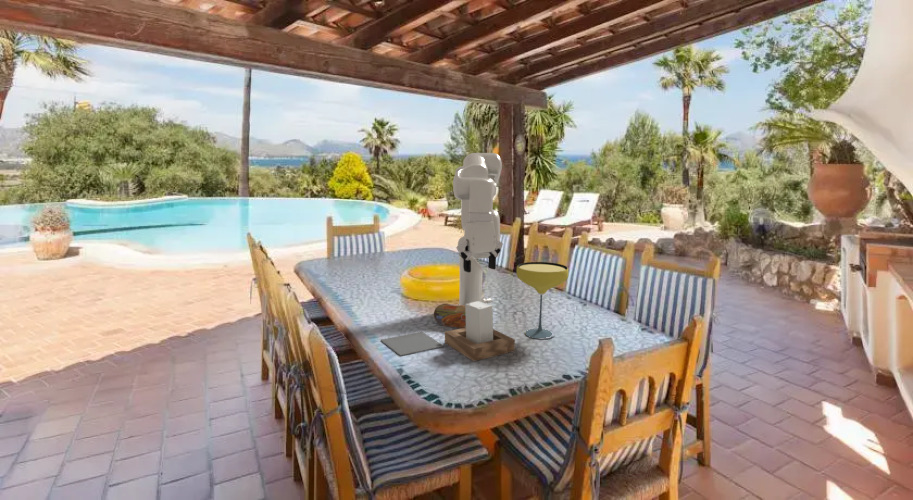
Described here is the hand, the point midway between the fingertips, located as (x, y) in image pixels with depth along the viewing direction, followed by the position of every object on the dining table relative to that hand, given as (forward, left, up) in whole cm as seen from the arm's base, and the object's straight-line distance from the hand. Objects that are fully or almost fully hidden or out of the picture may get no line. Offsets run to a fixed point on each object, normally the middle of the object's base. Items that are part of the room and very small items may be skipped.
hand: (479, 270), depth 155 cm
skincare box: (0, 0, -27) cm, 27 cm away
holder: (0, 0, -26) cm, 26 cm away
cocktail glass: (-26, +1, -27) cm, 37 cm away
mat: (+18, -14, -26) cm, 35 cm away
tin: (-4, -23, -27) cm, 35 cm away
